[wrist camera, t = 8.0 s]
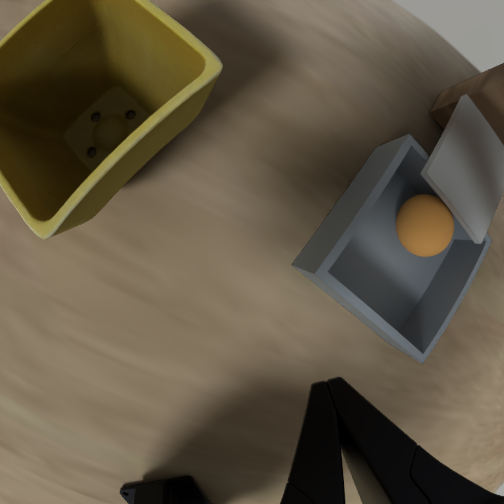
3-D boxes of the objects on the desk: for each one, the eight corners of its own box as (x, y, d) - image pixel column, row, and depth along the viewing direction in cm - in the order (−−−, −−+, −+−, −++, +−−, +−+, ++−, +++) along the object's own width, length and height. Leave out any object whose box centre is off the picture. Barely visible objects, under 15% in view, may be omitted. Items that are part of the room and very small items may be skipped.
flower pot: (214, 134, 18) (230, 64, 10) (109, 237, 18) (41, 246, 9) (126, 50, 17) (96, -38, 8) (29, 142, 16) (-52, 101, 7)
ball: (467, 230, 18) (434, 277, 19) (424, 203, 21) (393, 245, 22) (462, 200, 15) (425, 254, 16) (411, 172, 18) (376, 220, 19)
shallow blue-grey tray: (390, 345, 21) (422, 363, 18) (291, 264, 20) (314, 273, 16) (456, 237, 22) (491, 240, 18) (375, 147, 20) (409, 133, 16)
